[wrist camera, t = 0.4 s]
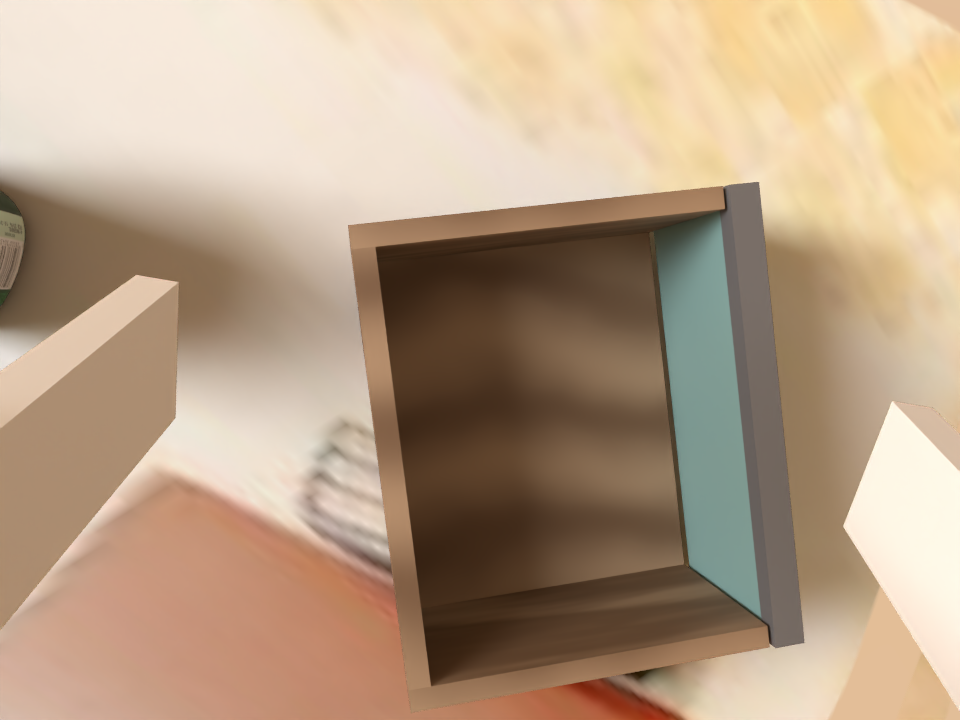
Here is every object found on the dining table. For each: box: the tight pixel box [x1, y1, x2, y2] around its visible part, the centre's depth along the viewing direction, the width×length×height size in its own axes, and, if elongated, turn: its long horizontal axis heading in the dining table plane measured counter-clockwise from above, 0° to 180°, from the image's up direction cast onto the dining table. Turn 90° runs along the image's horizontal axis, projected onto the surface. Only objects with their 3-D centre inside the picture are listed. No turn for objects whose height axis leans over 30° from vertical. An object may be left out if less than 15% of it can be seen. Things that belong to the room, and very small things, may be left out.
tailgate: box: [654, 182, 804, 648], centre depth 43 cm, size 21×1×10 cm, turn 7°
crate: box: [348, 186, 769, 713], centre depth 42 cm, size 21×16×11 cm
